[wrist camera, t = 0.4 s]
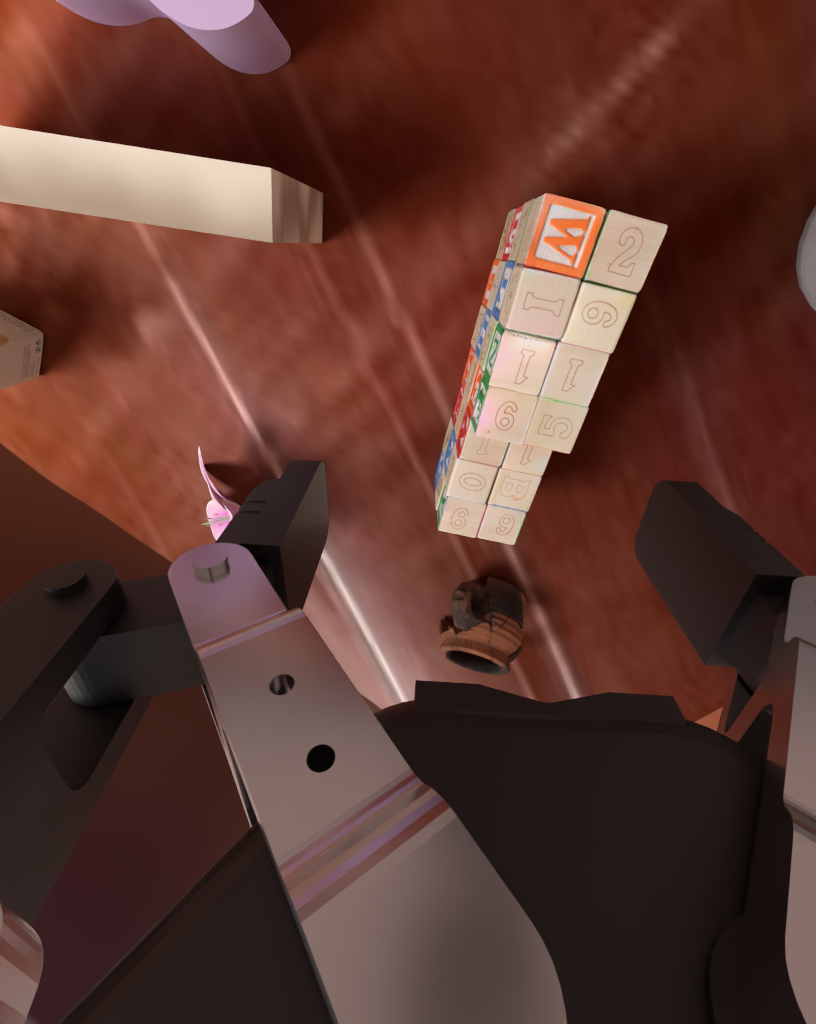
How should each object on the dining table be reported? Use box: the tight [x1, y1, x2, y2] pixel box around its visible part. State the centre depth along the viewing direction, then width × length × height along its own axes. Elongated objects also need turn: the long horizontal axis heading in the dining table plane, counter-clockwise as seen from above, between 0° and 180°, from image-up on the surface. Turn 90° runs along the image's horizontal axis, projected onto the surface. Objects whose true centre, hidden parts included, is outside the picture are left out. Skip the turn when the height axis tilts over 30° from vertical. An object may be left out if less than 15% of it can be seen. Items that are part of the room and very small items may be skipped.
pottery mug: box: [439, 577, 527, 675], centre depth 48 cm, size 12×10×8 cm
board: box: [0, 126, 323, 243], centre depth 26 cm, size 3×22×12 cm, turn 83°
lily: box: [198, 448, 241, 540], centre depth 41 cm, size 12×12×10 cm
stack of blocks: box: [435, 193, 668, 545], centre depth 32 cm, size 21×6×12 cm, turn 168°
